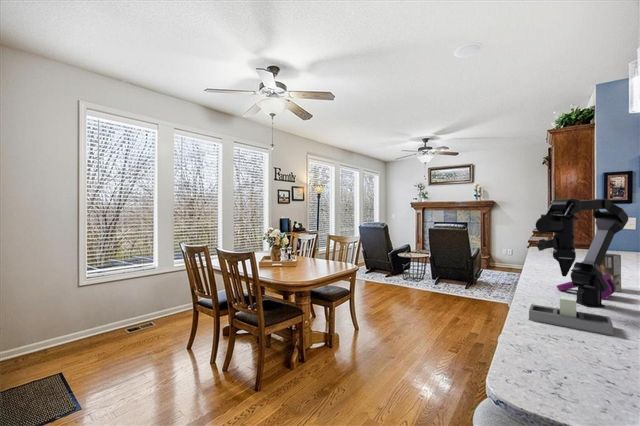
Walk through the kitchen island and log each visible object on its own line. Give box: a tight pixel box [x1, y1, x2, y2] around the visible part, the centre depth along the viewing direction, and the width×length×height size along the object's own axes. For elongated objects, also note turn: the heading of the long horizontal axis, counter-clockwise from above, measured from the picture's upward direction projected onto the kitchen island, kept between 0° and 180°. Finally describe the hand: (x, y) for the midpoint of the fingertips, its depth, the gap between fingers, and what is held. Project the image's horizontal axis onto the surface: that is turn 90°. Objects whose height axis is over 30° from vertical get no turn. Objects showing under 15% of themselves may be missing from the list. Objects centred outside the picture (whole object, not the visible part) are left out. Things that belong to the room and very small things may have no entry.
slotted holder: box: [528, 303, 614, 337], centre depth 95 cm, size 20×9×3 cm, turn 50°
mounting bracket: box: [556, 273, 616, 300], centre depth 127 cm, size 9×8×18 cm
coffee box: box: [600, 252, 622, 293], centre depth 134 cm, size 9×6×16 cm
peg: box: [559, 295, 577, 317], centre depth 95 cm, size 4×4×8 cm
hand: (564, 274), depth 110 cm, fingers open, 9 cm apart
